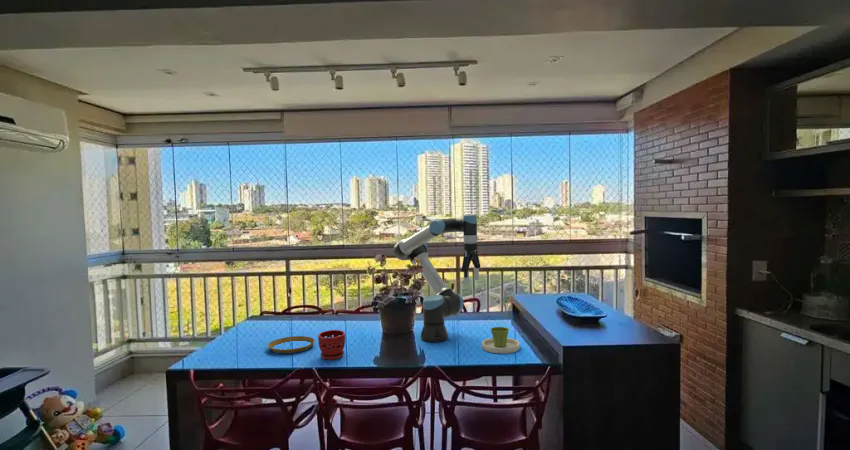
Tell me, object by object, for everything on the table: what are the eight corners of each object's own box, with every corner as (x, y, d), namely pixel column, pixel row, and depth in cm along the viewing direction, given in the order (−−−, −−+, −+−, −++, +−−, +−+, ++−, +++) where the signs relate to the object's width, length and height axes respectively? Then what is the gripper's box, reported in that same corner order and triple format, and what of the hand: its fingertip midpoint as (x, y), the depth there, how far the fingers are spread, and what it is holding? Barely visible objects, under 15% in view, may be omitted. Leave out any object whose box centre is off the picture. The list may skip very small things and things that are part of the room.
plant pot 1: (314, 357, 220) (313, 333, 220) (336, 351, 229) (335, 328, 229) (328, 363, 211) (327, 338, 210) (351, 356, 220) (350, 332, 220)
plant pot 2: (509, 349, 221) (509, 331, 221) (490, 348, 223) (490, 331, 222) (509, 343, 230) (509, 327, 230) (491, 343, 232) (490, 326, 232)
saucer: (476, 350, 223) (476, 345, 223) (489, 340, 239) (489, 335, 239) (513, 355, 213) (512, 350, 213) (524, 344, 230) (524, 339, 230)
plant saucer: (324, 344, 242) (324, 338, 242) (290, 358, 221) (290, 351, 221) (293, 339, 254) (292, 334, 254) (258, 351, 234) (258, 345, 233)
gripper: (467, 244, 229) (468, 285, 230) (485, 241, 251) (486, 278, 252) (454, 244, 233) (455, 284, 233) (473, 241, 255) (474, 277, 255)
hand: (471, 281), depth 242 cm, fingers open, 13 cm apart
